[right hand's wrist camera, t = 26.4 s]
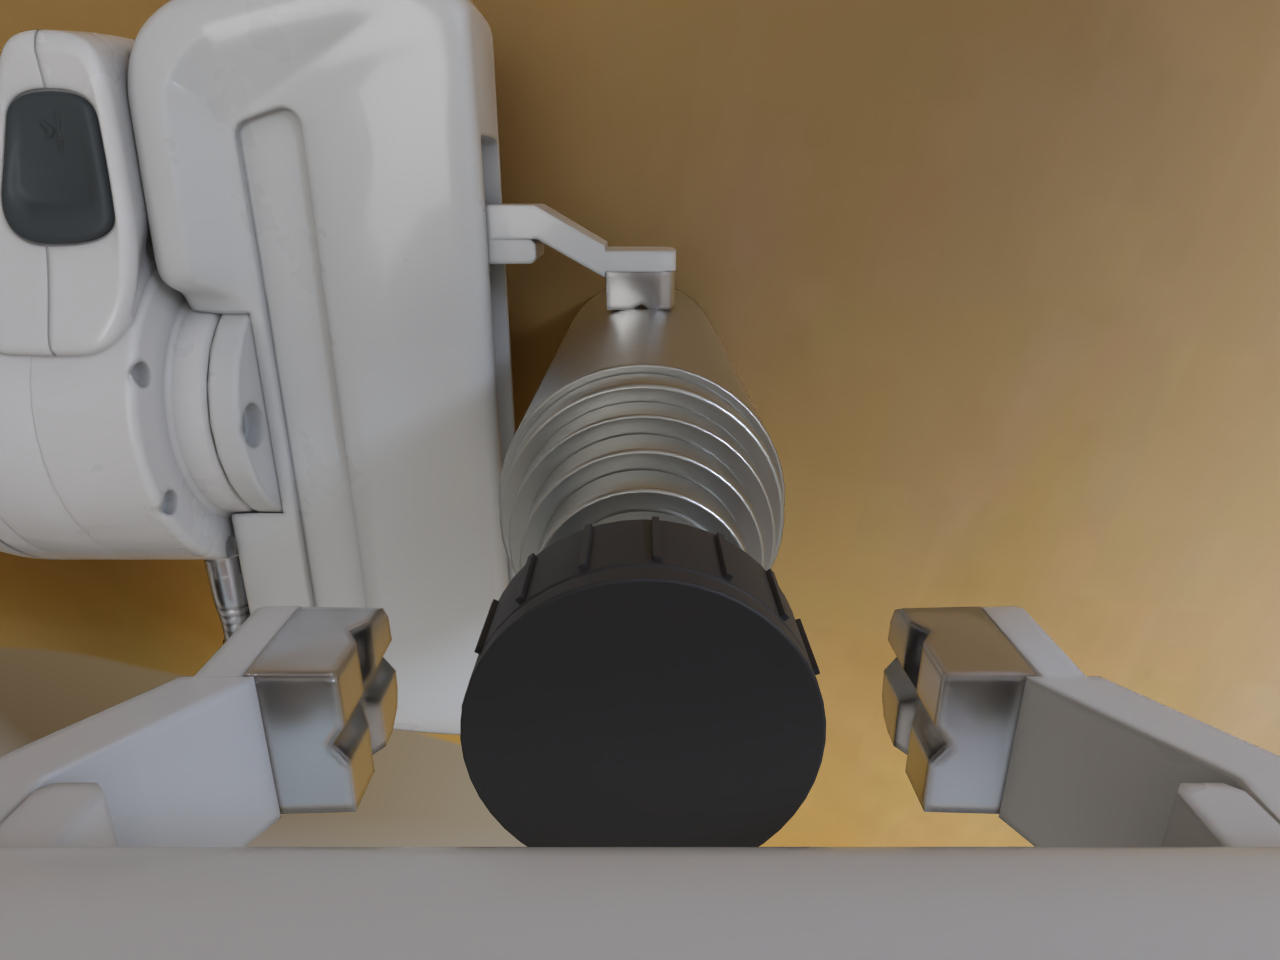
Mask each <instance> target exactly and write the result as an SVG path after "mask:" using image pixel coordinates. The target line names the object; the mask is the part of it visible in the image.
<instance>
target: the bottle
mask: <svg viewBox="0 0 1280 960" xmlns="http://www.w3.org/2000/svg"><path fill="white" fill-rule="evenodd" d="M784 506H785V486H784V479H783V472H782V468H781V464H780V461H779V457H778V454H777V451H776V449H775V447H774V445H773V443H772V440H771V438H770V436H769V434H768V432H767V430H766V428H765V426H764V425H763V423H762V421H761V419H760V417H759V415H758V413H757V411H756V409H755V407H754V405H753V403H752V401H751V400H750V398H749V396H748V394H747V392H746V390H745V388H744V386H743V384H742V382H741V380H740V378H739V377H738V375H737V373H736V371H735V369H734V367H733V365H732V363H731V361H730V359H729V357H728V355H727V353H726V352H725V350H724V348H723V346H722V344H721V342H720V340H719V338H718V336H717V334H716V332H715V330H714V328H713V327H712V325H711V323H710V321H709V319H708V318H707V316H706V315H705V313H704V312H703V310H702V309H701V308H700V307H699V306H698V305H697V304H696V303H695V302H694V301H693V300H692V299H691V298H690V297H688V296H687V295H686V294H684V293H683V292H681V291H679V290H677V289H675V308H673V309H668V310H656V309H648V308H647V307H645V306H644V305H642V304H640V305H639V306H637V307H636V308H634V309H627V310H607V296H606V289H605V290H603V291H601V292H600V293H598V294H597V295H595V296H594V297H592V298H591V299H590V300H589V301H588V302H587V303H586V304H585V305H584V306H583V307H582V308H581V309H580V311H579V312H578V313H577V315H576V316H575V318H574V320H573V321H572V323H571V325H570V327H569V329H568V331H567V333H566V335H565V337H564V339H563V341H562V343H561V345H560V347H559V349H558V351H557V353H556V355H555V357H554V359H553V361H552V362H551V364H550V366H549V368H548V370H547V372H546V374H545V376H544V378H543V380H542V382H541V384H540V386H539V388H538V390H537V392H536V394H535V396H534V398H533V400H532V402H531V404H530V406H529V408H528V410H527V412H526V414H525V416H524V418H523V420H522V422H521V424H520V426H519V428H518V430H517V432H516V434H515V436H514V438H513V440H512V442H511V444H510V446H509V449H508V451H507V453H506V456H505V460H504V463H503V467H502V470H501V477H500V484H499V509H500V528H501V535H502V541H503V544H504V548H505V551H506V555H507V557H508V559H509V562H510V564H511V566H512V568H513V571H514V573H515V575H516V574H517V573H518V572H519V571H520V570H521V569H522V568H523V567H524V566H525V564H526V562H527V558H528V556H529V555H531V554H532V553H534V554H535V555H537V554H539V553H540V552H541V551H542V550H544V549H545V548H547V547H549V546H550V545H552V544H554V543H555V542H557V541H558V540H560V539H562V538H565V537H567V536H569V535H571V534H573V533H576V532H578V531H580V530H584V527H585V525H587V524H590V523H591V524H592V526H597V525H600V524H605V523H611V522H616V521H622V520H640V519H647V520H652V516H656V517H659V520H662V521H670V522H675V523H680V524H685V525H689V526H693V527H696V528H699V529H702V530H705V531H708V532H710V533H712V534H715V535H716V534H717V532H720V533H722V534H724V538H725V540H727V541H729V542H731V543H732V544H734V545H735V546H737V547H738V548H740V549H742V550H743V551H745V552H746V553H747V554H748V555H750V556H751V557H752V558H753V559H754V560H756V561H757V562H758V563H759V564H760V565H761V566H762V567H763V568H764V569H765V570H766V571H767V570H768V569H771V568H772V566H773V564H774V561H775V559H776V557H777V554H778V551H779V547H780V543H781V540H782V534H783V527H784Z"/></svg>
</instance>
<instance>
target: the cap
mask: <svg viewBox="0 0 1280 960" xmlns="http://www.w3.org/2000/svg"><path fill="white" fill-rule="evenodd" d="M474 652H475V653H478V654H479V655H478V657H477V660H476V663H475V666H474V669H473V672H472V675H471V678H470V681H469V684H468V687H467V690H466V693H465V696H464V699H463V703H462V712H461V719H460V735H461V745H462V751H463V757H464V761H465V764H466V767H467V770H468V773H469V776H470V779H471V781H472V783H473V785H474V787H475V789H476V791H477V793H478V795H479V797H480V798H481V800H482V801H483V803H484V804H485V806H486V807H487V809H488V810H489V811H490V813H491V814H492V815H493V816H494V817H495V818H496V820H497V821H498V822H499V823H500V824H501V825H502V826H503V827H504V828H505V829H506V830H507V831H508V832H509V833H511V834H512V835H513V836H514V837H515V838H516V839H518V840H519V841H520V842H521V843H523V844H524V845H526V846H527V847H759V846H760V845H762V844H763V843H765V842H766V841H767V840H768V839H769V838H771V837H772V836H773V835H774V834H775V833H777V832H778V831H779V830H780V829H781V828H782V827H783V826H784V825H785V824H786V823H787V822H788V821H789V820H790V819H791V817H792V816H793V815H794V814H795V813H796V811H797V810H798V809H799V807H800V806H801V804H802V803H803V802H804V800H805V799H806V797H807V795H808V793H809V791H810V789H811V787H812V785H813V784H814V782H815V779H816V776H817V773H818V771H819V768H820V765H821V762H822V757H823V752H824V747H825V740H826V718H825V710H824V703H823V699H822V695H821V692H820V689H819V685H818V682H817V679H816V677H815V675H817V674H820V672H819V669H818V666H817V663H816V660H815V658H814V655H813V652H812V650H811V647H810V644H809V641H808V639H807V636H806V633H805V631H804V628H803V625H802V623H801V620H800V619H796V620H795V618H794V615H793V612H792V610H791V608H790V606H789V604H788V602H787V600H786V598H785V595H784V594H783V592H782V591H781V589H780V588H779V586H778V583H777V580H776V577H775V575H774V572H773V571H772V570H771V569H768V570H767V571H766V570H765V569H764V568H763V567H762V566H761V565H760V564H759V563H758V562H757V561H756V560H754V559H753V558H752V557H751V556H750V555H748V554H747V553H746V552H745V551H743V550H742V549H740V548H738V547H737V546H735V545H734V544H732V543H731V542H729V541H727V540H725V538H724V534H722V533H720V532H717V534H716V535H715V534H712V533H710V532H708V531H705V530H702V529H699V528H696V527H693V526H689V525H685V524H680V523H675V522H670V521H662V520H659V517H656V516H652V520H647V519H640V520H622V521H616V522H611V523H605V524H600V525H597V526H592V524H591V523H590V524H587V525H585V527H584V530H580V531H578V532H576V533H573V534H571V535H569V536H567V537H565V538H562V539H560V540H558V541H557V542H555V543H554V544H552V545H550V546H549V547H547V548H545V549H544V550H542V551H541V552H540V553H539V554H537V555H535V554H534V553H532V554H531V555H529V556H528V558H527V562H526V564H525V566H524V567H523V568H522V569H521V570H520V571H519V572H518V573H517V574H516V575H515V576H514V577H513V579H512V580H511V582H510V583H509V584H508V586H507V587H506V589H505V590H504V592H503V593H502V595H501V597H500V599H499V601H498V600H495V599H493V601H492V603H491V606H490V609H489V612H488V615H487V617H486V620H485V623H484V626H483V628H482V631H481V634H480V637H479V640H478V642H477V645H476V648H475V651H474Z"/></svg>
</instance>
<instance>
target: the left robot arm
mask: <svg viewBox="0 0 1280 960" xmlns="http://www.w3.org/2000/svg"><path fill="white" fill-rule="evenodd" d="M545 244H546V245H548V246H550V247H551V248H553V249H555V250H557V251H558V252H560V253H562V254H564V255H565V256H567V257H569V258H571V259H572V260H574V261H576V262H578V263H580V264H581V265H583V266H585V267H587V268H588V269H590V270H592V271H594V272H595V273H597V274H599V275H601V276H602V277H605V275H606V296H607V310H627V309H634V308H636V307H637V306H639V305H640V304H642V305H644V306H645V307H647V308H648V309H656V310H668V309H673V308H675V280H676V249H675V248H673V247H663V246H608V242H607V241H606V240H604V239H602V238H601V237H599V236H597V235H596V234H594V233H592V232H591V231H589V230H587V229H586V228H584V227H582V226H581V225H579V224H577V223H576V222H574V221H572V220H571V219H569V218H567V217H566V216H564V215H562V214H560V213H559V212H557V211H555V210H554V209H552V208H550V207H549V206H547V205H545V204H502V189H501V171H500V154H499V136H498V119H497V101H496V83H495V66H494V49H493V36H492V32H491V29H490V26H489V24H488V22H487V21H486V19H485V18H484V17H483V15H482V14H481V13H480V12H479V10H478V9H477V8H476V6H475V5H474V4H473V3H472V2H471V1H470V0H170V1H169V2H167V3H166V4H164V5H163V6H161V7H160V8H159V9H158V10H157V11H155V12H154V13H153V14H152V15H151V16H150V17H149V18H148V20H147V21H146V22H145V24H144V25H143V26H142V28H141V29H140V31H139V33H138V35H137V37H136V39H135V40H134V39H130V38H126V37H120V36H113V35H107V34H100V33H93V32H83V31H67V30H30V31H24V32H21V33H18V34H15V35H14V36H12V37H11V38H10V39H9V40H8V41H7V42H6V44H5V45H4V47H3V49H2V52H1V56H0V552H4V553H8V554H12V555H16V556H20V557H27V558H37V559H48V560H55V559H58V560H81V559H82V560H145V559H163V560H204V561H205V566H206V571H207V575H208V580H209V585H210V590H211V594H212V597H213V601H214V604H215V606H216V609H217V612H218V614H219V618H220V621H221V624H222V628H223V633H224V638H225V639H224V640H223V644H224V643H225V642H226V641H227V640H228V639H229V638H230V637H231V636H232V635H233V634H234V632H235V631H236V630H237V629H238V628H239V627H240V626H241V625H242V624H243V623H244V622H245V621H246V620H247V618H248V617H249V616H250V615H251V614H252V613H253V612H254V611H255V610H256V609H257V608H261V607H276V606H301V607H347V608H383V609H384V611H385V612H386V614H387V615H388V618H389V624H390V631H391V637H392V641H391V643H390V644H389V646H388V648H387V650H386V652H385V654H384V656H383V657H384V658H385V659H386V661H387V662H388V663H389V664H390V665H391V666H392V667H393V668H394V669H395V670H396V677H397V686H398V701H397V712H396V717H395V722H394V727H393V729H394V730H404V731H413V732H425V733H438V734H456V735H460V719H461V712H462V703H463V699H464V696H465V693H466V690H467V687H468V684H469V681H470V678H471V675H472V672H473V669H474V666H475V663H476V660H477V657H478V655H479V654H478V653H475V652H474V651H475V648H476V645H477V642H478V640H479V637H480V634H481V631H482V628H483V626H484V623H485V620H486V617H487V615H488V612H489V609H490V606H491V603H492V601H493V599H495V600H498V601H499V599H500V597H501V595H502V593H503V592H504V590H505V589H506V587H507V586H508V584H509V583H510V582H511V580H512V579H513V577H514V576H515V573H514V571H513V568H512V566H511V564H510V562H509V559H508V557H507V555H506V551H505V548H504V544H503V541H502V535H501V528H500V509H499V484H500V477H501V470H502V467H503V463H504V460H505V456H506V453H507V451H508V449H509V446H510V444H511V442H512V440H513V438H514V436H515V417H514V400H513V382H512V365H511V347H510V329H509V312H508V294H507V277H506V264H532V263H533V262H534V261H536V260H537V259H539V258H540V257H541V256H542V255H543V254H544V253H545Z"/></svg>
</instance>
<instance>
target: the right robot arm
mask: <svg viewBox="0 0 1280 960" xmlns="http://www.w3.org/2000/svg"><path fill="white" fill-rule="evenodd" d="M391 641H392V637H391V631H390V624H389V618H388V615H387V614H386V612H385V611H384V609H383V608H347V607H301V606H276V607H261V608H257V609H256V610H255V611H254V612H253V613H252V614H251V615H250V616H249V617H248V618H247V620H246V621H245V622H244V623H243V624H242V625H241V626H240V627H239V628H238V629H237V630H236V631H235V632H234V634H233V635H232V636H231V637H230V638H229V639H228V640H227V641H226V642H225V643H224V644H223V645H222V647H221V648H220V649H219V650H218V651H217V652H216V653H215V654H214V655H213V656H212V657H211V658H210V660H209V661H208V662H207V663H206V664H205V665H204V666H203V667H202V668H201V669H200V670H199V671H198V672H197V674H196V675H195V676H186V677H178V678H176V679H174V680H171V681H169V682H167V683H165V684H162V685H160V686H158V687H156V688H153V689H151V690H149V691H147V692H144V693H142V694H140V695H138V696H135V697H133V698H131V699H129V700H126V701H124V702H122V703H119V704H117V705H115V706H113V707H110V708H108V709H106V710H104V711H101V712H99V713H97V714H95V715H92V716H90V717H88V718H86V719H83V720H81V721H79V722H77V723H74V724H72V725H70V726H67V727H65V728H63V729H61V730H58V731H56V732H54V733H52V734H49V735H47V736H45V737H43V738H40V739H38V740H36V741H34V742H31V743H29V744H27V745H25V746H22V747H20V748H18V749H15V750H13V751H11V752H9V753H6V754H4V755H2V756H0V960H1280V756H1278V755H1275V754H1273V753H1271V752H1269V751H1266V750H1264V749H1262V748H1260V747H1257V746H1255V745H1253V744H1250V743H1248V742H1246V741H1244V740H1241V739H1239V738H1237V737H1235V736H1232V735H1230V734H1228V733H1226V732H1223V731H1221V730H1219V729H1217V728H1214V727H1212V726H1210V725H1208V724H1205V723H1203V722H1201V721H1199V720H1196V719H1194V718H1192V717H1190V716H1187V715H1185V714H1183V713H1181V712H1178V711H1176V710H1174V709H1172V708H1169V707H1167V706H1165V705H1163V704H1160V703H1158V702H1156V701H1154V700H1151V699H1149V698H1147V697H1145V696H1142V695H1140V694H1138V693H1136V692H1133V691H1131V690H1129V689H1127V688H1124V687H1122V686H1120V685H1118V684H1115V683H1113V682H1111V681H1109V680H1106V679H1104V678H1102V677H1094V676H1085V675H1084V674H1083V672H1082V671H1081V670H1080V669H1079V668H1078V667H1077V666H1076V665H1075V664H1074V663H1073V662H1072V661H1071V660H1070V658H1069V657H1068V656H1067V655H1066V654H1065V653H1064V652H1063V651H1062V650H1061V649H1060V648H1059V647H1058V645H1057V644H1056V643H1055V642H1054V641H1053V640H1052V639H1051V638H1050V637H1049V636H1048V635H1047V634H1046V632H1045V631H1044V630H1043V629H1042V628H1041V627H1040V626H1039V625H1038V624H1037V623H1036V622H1035V621H1034V619H1033V618H1032V617H1031V616H1030V615H1029V614H1028V613H1027V612H1026V611H1025V610H1024V609H1023V608H1020V607H1017V606H996V607H944V608H902V609H898V610H895V611H894V614H893V616H892V619H891V622H890V629H889V636H888V641H889V643H890V644H891V646H892V648H893V650H894V652H895V654H896V656H897V657H896V658H895V659H894V661H893V662H892V663H891V664H890V665H889V666H888V667H887V668H886V669H885V670H884V679H883V689H882V699H883V713H884V719H885V723H886V727H887V731H888V733H889V736H890V738H891V740H892V743H893V745H894V746H895V747H897V748H898V749H899V750H901V751H902V752H904V753H905V754H907V763H906V773H907V776H908V778H909V780H910V782H911V784H912V786H913V788H914V791H915V793H916V795H917V797H918V799H919V801H920V803H921V806H922V808H923V810H924V812H954V813H991V814H999V818H1001V819H1002V820H1003V821H1004V822H1006V823H1007V824H1008V825H1009V826H1010V827H1012V828H1013V829H1014V830H1015V831H1017V832H1018V833H1019V834H1020V835H1021V836H1023V837H1024V838H1025V839H1026V840H1028V841H1029V842H1030V843H1031V844H1033V845H1034V846H1035V847H245V846H246V845H248V844H249V843H250V842H251V841H253V840H254V839H255V838H256V837H258V836H259V835H260V834H261V833H263V832H264V831H265V830H266V829H267V828H269V827H270V826H271V825H272V824H274V823H275V822H276V821H277V820H278V819H280V818H281V814H288V813H324V812H356V810H357V808H358V806H359V804H360V801H361V799H362V797H363V795H364V793H365V791H366V789H367V786H368V784H369V782H370V780H371V778H372V776H373V773H374V763H373V754H375V753H376V752H378V751H379V750H381V749H382V748H383V747H385V746H386V745H387V742H388V740H389V738H390V735H391V733H392V731H393V727H394V722H395V717H396V712H397V701H398V686H397V677H396V670H395V669H394V668H393V667H392V666H391V665H390V664H389V663H388V662H387V661H386V659H385V658H384V657H383V656H384V654H385V652H386V650H387V648H388V646H389V644H390V643H391Z"/></svg>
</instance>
